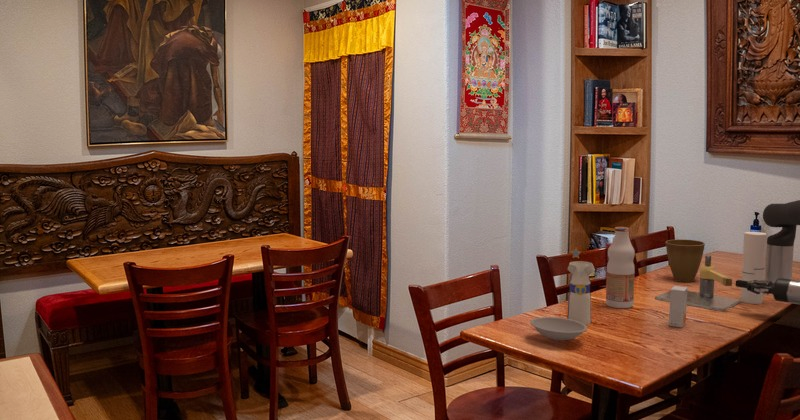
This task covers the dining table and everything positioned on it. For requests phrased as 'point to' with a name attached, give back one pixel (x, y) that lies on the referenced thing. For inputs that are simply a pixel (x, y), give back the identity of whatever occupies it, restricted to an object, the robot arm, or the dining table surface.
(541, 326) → the dish
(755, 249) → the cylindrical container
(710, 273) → the lever handle
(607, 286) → the fruit juice
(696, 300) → the square base plate stand
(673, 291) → the skincare box
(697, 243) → the plant pot
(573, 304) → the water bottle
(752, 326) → the dining table surface
